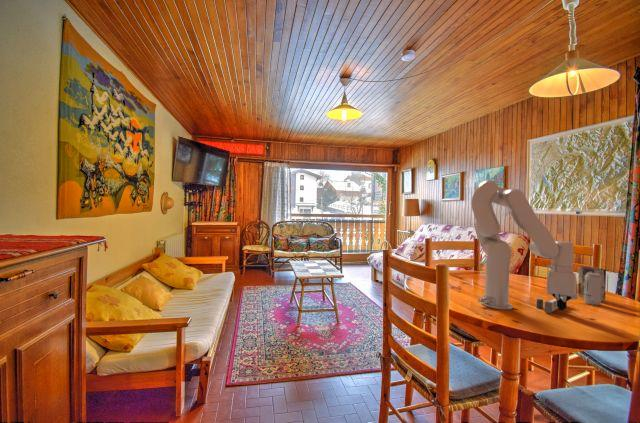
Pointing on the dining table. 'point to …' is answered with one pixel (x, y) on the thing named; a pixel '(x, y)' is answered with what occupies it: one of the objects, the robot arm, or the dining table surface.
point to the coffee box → (581, 280)
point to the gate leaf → (551, 305)
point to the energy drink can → (592, 288)
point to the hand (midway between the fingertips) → (561, 309)
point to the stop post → (539, 303)
